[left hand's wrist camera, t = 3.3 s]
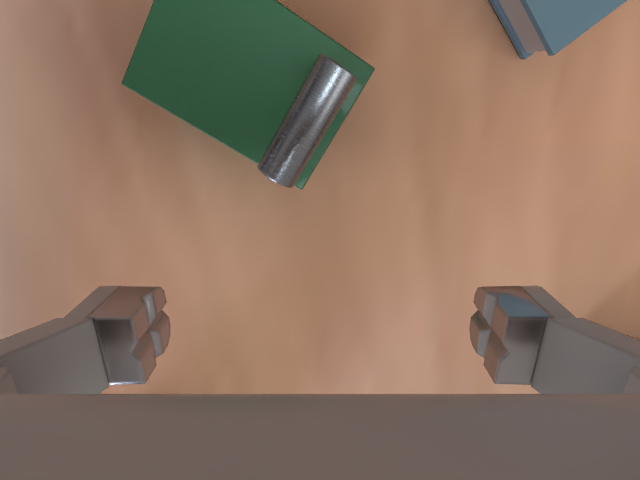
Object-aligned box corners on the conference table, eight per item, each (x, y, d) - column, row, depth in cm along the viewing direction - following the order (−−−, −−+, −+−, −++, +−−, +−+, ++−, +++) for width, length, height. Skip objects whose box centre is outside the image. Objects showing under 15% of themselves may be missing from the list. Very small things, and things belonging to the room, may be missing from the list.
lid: (373, 69, 26) (400, 60, 18) (302, 187, 29) (295, 228, 21) (184, -61, 23) (109, -145, 15) (126, 83, 26) (36, 82, 18)
